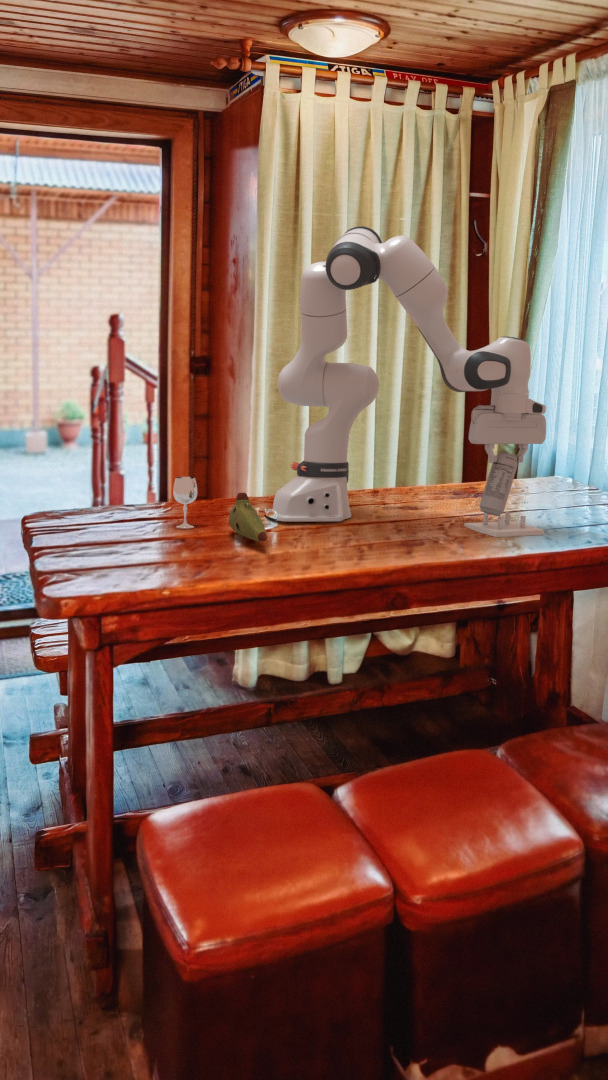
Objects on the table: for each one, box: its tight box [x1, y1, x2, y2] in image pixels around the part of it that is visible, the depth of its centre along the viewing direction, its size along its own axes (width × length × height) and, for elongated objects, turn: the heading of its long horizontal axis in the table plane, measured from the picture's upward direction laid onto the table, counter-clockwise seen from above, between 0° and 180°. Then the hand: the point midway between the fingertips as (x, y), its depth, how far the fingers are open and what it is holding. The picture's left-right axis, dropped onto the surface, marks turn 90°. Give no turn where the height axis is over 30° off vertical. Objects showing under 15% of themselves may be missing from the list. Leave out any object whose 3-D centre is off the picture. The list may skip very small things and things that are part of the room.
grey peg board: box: [463, 511, 545, 538], centre depth 224 cm, size 14×14×4 cm
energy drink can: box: [478, 451, 519, 517], centre depth 221 cm, size 6×6×15 cm
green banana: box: [228, 492, 268, 542], centre depth 206 cm, size 20×5×10 cm, turn 27°
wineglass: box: [172, 476, 198, 529], centre depth 217 cm, size 6×6×12 cm
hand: (505, 462), depth 221 cm, fingers closed on energy drink can, 6 cm apart
